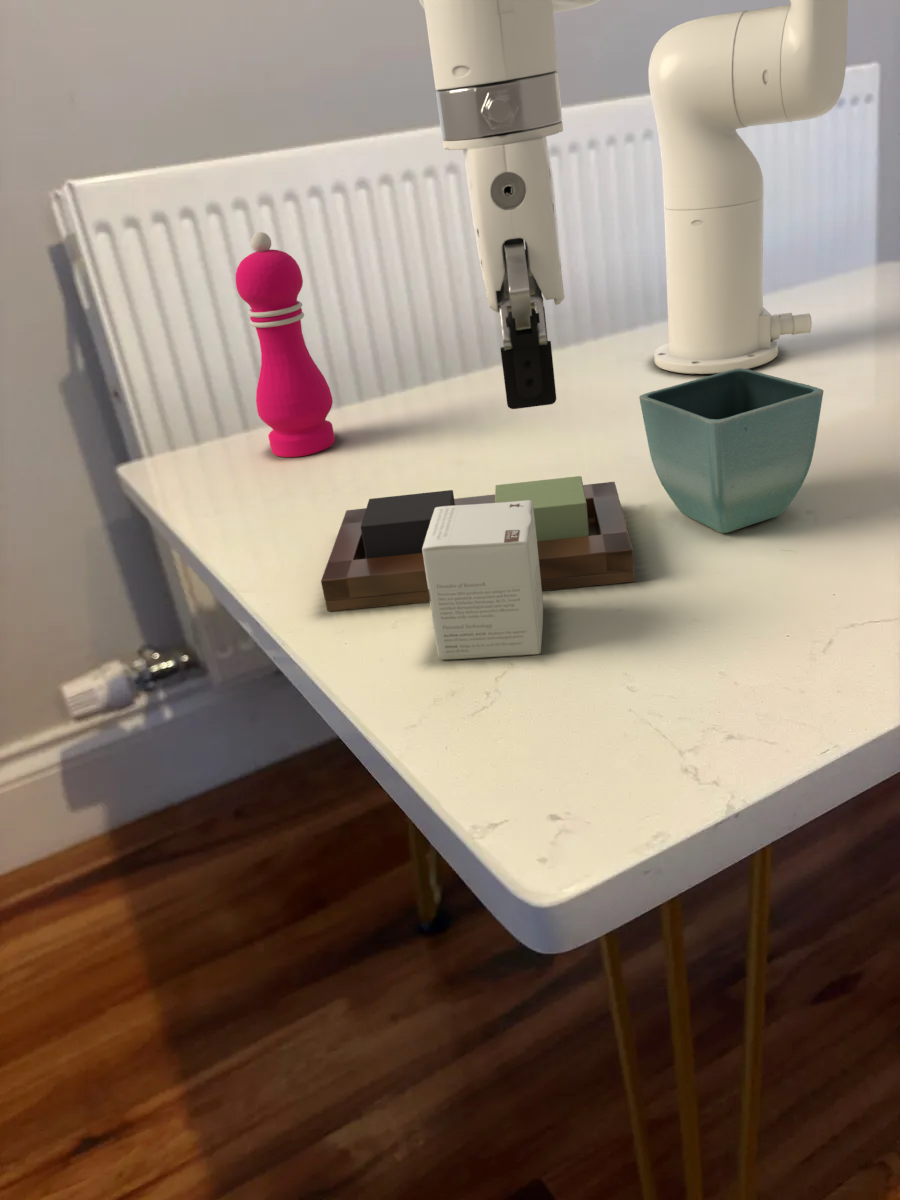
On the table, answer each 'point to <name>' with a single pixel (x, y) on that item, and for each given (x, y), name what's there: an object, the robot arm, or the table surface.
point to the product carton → (484, 580)
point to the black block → (400, 522)
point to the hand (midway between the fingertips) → (530, 383)
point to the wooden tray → (559, 560)
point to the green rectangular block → (551, 505)
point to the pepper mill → (284, 354)
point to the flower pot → (732, 444)
